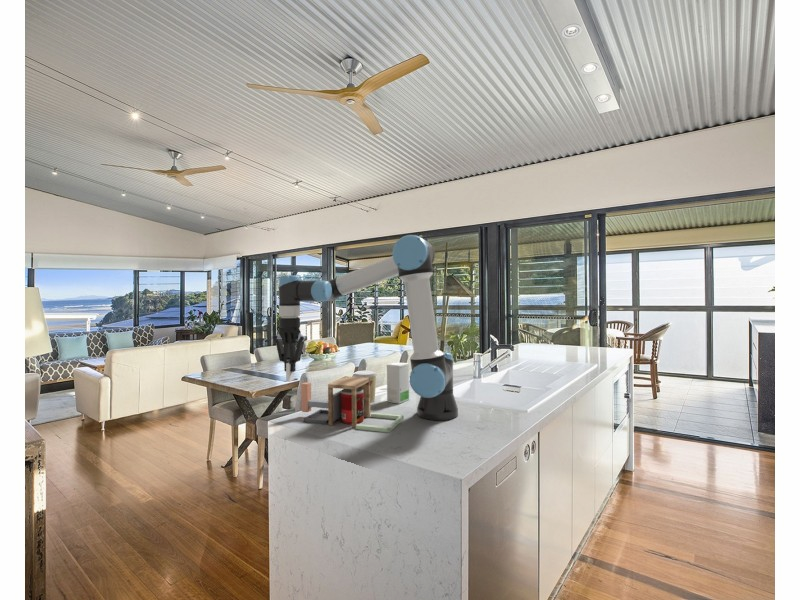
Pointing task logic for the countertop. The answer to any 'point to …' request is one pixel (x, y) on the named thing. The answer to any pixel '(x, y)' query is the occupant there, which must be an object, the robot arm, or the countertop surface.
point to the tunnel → (352, 384)
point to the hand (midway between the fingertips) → (290, 380)
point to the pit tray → (318, 417)
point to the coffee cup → (372, 381)
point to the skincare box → (397, 382)
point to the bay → (381, 428)
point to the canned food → (347, 405)
